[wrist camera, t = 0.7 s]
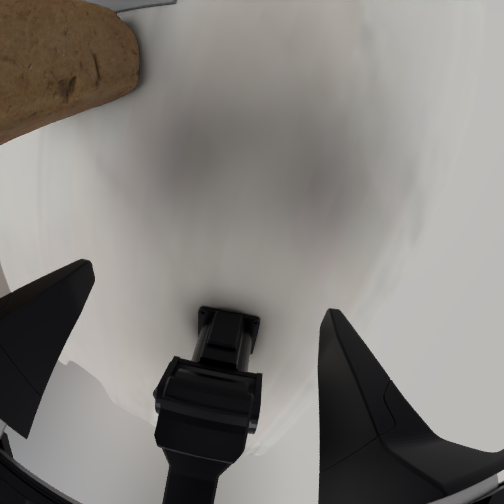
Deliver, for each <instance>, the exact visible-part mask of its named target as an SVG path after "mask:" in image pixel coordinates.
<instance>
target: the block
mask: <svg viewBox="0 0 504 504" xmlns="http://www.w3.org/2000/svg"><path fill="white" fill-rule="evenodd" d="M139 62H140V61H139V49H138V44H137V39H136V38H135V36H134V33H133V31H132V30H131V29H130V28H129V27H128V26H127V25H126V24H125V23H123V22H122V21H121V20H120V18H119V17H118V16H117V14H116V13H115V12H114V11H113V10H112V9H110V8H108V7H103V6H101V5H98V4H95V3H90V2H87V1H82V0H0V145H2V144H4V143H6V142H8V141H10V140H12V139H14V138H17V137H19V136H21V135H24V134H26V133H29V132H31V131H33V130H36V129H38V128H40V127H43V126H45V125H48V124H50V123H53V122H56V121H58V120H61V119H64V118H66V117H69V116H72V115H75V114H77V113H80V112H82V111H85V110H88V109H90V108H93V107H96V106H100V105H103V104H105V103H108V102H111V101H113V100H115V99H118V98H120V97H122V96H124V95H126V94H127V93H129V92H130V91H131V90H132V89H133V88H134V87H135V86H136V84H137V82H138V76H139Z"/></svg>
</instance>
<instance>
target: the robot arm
mask: <svg viewBox="0 0 504 504" xmlns="http://www.w3.org/2000/svg"><path fill="white" fill-rule="evenodd" d="M94 282H95V276H94V272H93V267H92V263H91V262H90V261H89V260H86V259H80V260H78V261H75V262H73V263H71V264H69V265H67V266H64V267H62V268H60V269H58V270H56V271H54V272H52V273H49V274H47V275H45V276H43V277H41V278H39V279H37V280H35V281H33V282H31V283H29V284H27V285H25V286H23V287H21V288H19V289H17V290H15V291H13V293H12V292H11V293H9V294H7V295H6V296H3V297H2V298H0V504H81V503H80V502H78V501H76V500H74V499H72V498H71V497H69V496H67V495H65V494H63V493H62V492H60V491H59V490H57V489H55V488H54V487H52V486H50V485H49V484H47V483H46V482H44V481H43V480H41V479H40V478H38V477H37V476H35V475H34V474H33V473H31V472H30V471H28V470H27V469H26V468H24V467H23V466H22V465H20V464H19V463H18V462H16V461H15V460H14V459H13V455H12V452H11V448H10V445H9V440H8V436H7V434H6V433H5V432H4V430H5V428H6V426H7V425H8V426H10V427H11V428H12V429H13V430H15V431H16V432H17V433H19V434H20V435H21V436H23V437H24V438H25V439H27V438H28V435H29V432H30V429H31V426H32V423H33V420H34V417H35V414H36V412H37V409H38V406H39V403H40V401H41V398H42V395H43V393H44V390H45V388H46V385H47V383H48V381H49V378H50V376H51V374H52V371H53V369H54V367H55V365H56V362H57V360H58V358H59V356H60V354H61V352H62V350H63V347H64V345H65V343H66V341H67V339H68V337H69V335H70V333H71V331H72V329H73V327H74V325H75V324H76V322H77V320H78V318H79V316H80V314H81V312H82V310H83V307H84V305H85V303H86V300H87V298H88V296H89V293H90V291H91V289H92V287H93V284H94ZM203 311H204V312H203ZM255 321H256V322H255ZM259 325H260V319H259V318H258V317H254V316H248V315H242V314H237V313H232V312H226V311H221V310H216V309H211V308H206V307H200V308H199V311H198V341H197V344H196V348H195V351H194V354H193V357H192V360H191V361H190V360H186V359H182V358H180V357H177V356H174V358H173V360H172V361H171V362H170V363H169V365H168V367H167V369H166V371H165V373H164V375H163V376H162V378H161V380H160V382H159V384H158V386H157V387H156V389H155V390H154V392H153V396H154V398H155V410H156V412H157V413H158V414H159V416H158V421H157V426H156V430H155V434H154V436H155V439H156V443H157V446H158V447H160V448H162V449H163V452H164V454H165V456H166V459H167V461H168V463H169V471H168V476H167V481H166V487H165V492H164V498H163V503H162V504H214V499H215V493H216V488H217V483H218V478H219V476H220V475H221V474H222V473H223V472H224V471H225V470H226V469H227V468H228V467H229V466H230V465H231V464H233V463H234V462H235V461H236V460H237V459H238V458H239V457H240V456H241V454H242V453H243V452H244V449H245V444H246V439H247V434H248V433H250V434H254V433H255V431H256V428H257V424H258V419H259V413H260V405H261V389H262V373H257V374H256V373H250V372H247V370H248V364H249V357H250V354H252V353H253V349H254V345H255V341H256V337H257V333H258V329H259ZM318 388H319V418H320V419H319V421H320V473H319V501H318V502H319V503H318V504H504V481H502V482H500V483H498V477H497V473H498V472H500V471H502V470H504V449H503V450H501V451H499V452H494V453H491V452H484V451H480V450H476V449H473V448H469V447H466V446H463V445H459V444H456V443H453V442H450V441H446V440H444V439H442V438H440V437H439V436H437V435H436V434H435V433H434V432H433V431H432V430H431V429H430V428H429V427H428V425H427V424H426V423H425V422H424V421H423V420H422V418H421V417H420V416H419V415H418V414H417V412H416V411H415V410H414V409H413V408H412V406H411V405H410V404H409V403H408V402H407V400H406V399H405V398H404V397H403V395H402V394H401V393H400V391H399V390H398V389H397V387H396V386H395V384H394V383H393V381H392V380H390V377H389V376H388V374H387V373H386V372H385V370H384V369H383V367H382V366H381V365H380V363H379V362H378V361H377V359H376V358H375V356H374V355H373V354H372V352H371V351H370V350H369V348H368V347H367V345H366V344H365V343H364V341H363V340H362V339H361V337H360V336H359V335H358V333H357V332H356V331H355V329H354V328H353V327H352V325H351V324H350V323H349V321H348V320H347V319H346V317H345V316H344V315H343V313H342V312H341V311H340V310H339V309H332V308H329V309H328V310H327V312H326V314H325V316H324V319H323V321H322V323H321V326H320V336H319V353H318Z"/></svg>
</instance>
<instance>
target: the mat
mask: <svg viewBox="0 0 504 504" xmlns="http://www.w3.org/2000/svg"><path fill="white" fill-rule="evenodd" d="M82 1H87V2H90V3H95V4H98V5H101V6H103V7H108V8H110V9H112V10H113V11H114V12H115V13H118V12H122V11H127V10H133V9H138V8H145V7H151V6H159V5H168V4H176V1H177V0H82Z"/></svg>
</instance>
